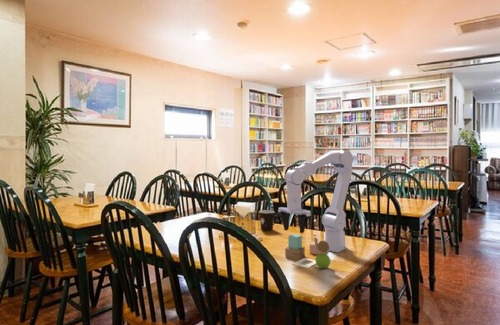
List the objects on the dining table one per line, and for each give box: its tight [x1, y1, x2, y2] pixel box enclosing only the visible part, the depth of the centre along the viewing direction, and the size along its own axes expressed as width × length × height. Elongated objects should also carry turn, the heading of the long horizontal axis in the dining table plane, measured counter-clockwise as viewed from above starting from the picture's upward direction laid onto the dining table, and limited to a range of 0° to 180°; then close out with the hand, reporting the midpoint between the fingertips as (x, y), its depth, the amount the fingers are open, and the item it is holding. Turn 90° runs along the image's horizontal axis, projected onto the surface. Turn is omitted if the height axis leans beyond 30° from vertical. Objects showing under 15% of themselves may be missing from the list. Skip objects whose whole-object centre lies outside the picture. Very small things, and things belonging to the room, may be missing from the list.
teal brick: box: [287, 233, 303, 250], centre depth 141 cm, size 4×4×5 cm
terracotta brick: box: [309, 241, 321, 255], centre depth 147 cm, size 4×4×4 cm
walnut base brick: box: [284, 246, 306, 261], centre depth 142 cm, size 6×6×4 cm
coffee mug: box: [258, 209, 279, 232], centre depth 187 cm, size 12×9×10 cm
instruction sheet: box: [292, 257, 317, 269], centre depth 133 cm, size 9×7×1 cm
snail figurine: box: [313, 234, 331, 269], centre depth 128 cm, size 5×6×12 cm
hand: (294, 231), depth 142 cm, fingers open, 7 cm apart
